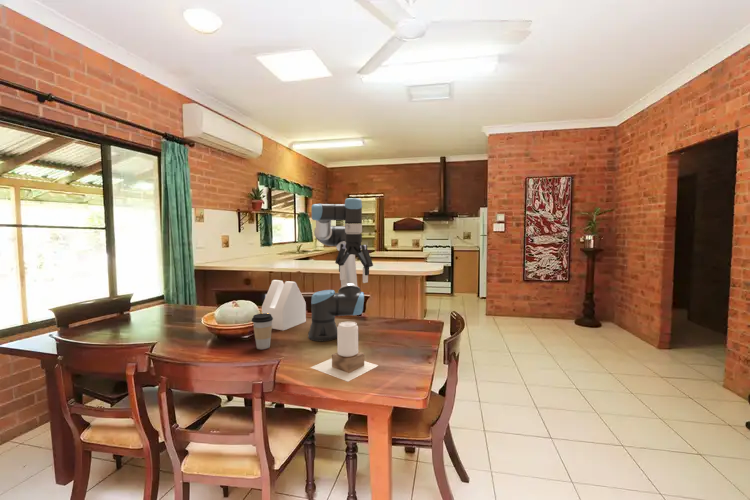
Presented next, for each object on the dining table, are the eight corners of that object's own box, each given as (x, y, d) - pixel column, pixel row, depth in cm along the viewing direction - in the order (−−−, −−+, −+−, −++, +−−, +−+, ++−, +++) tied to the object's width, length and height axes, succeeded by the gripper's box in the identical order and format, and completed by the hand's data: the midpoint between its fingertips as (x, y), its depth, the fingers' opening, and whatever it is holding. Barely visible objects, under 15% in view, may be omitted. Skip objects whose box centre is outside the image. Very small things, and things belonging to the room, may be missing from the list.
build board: (310, 370, 136) (310, 367, 136) (341, 356, 150) (341, 354, 150) (348, 384, 124) (348, 381, 124) (378, 368, 138) (378, 365, 138)
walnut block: (331, 367, 136) (331, 354, 136) (347, 360, 144) (347, 348, 143) (349, 373, 131) (348, 360, 131) (364, 365, 138) (364, 353, 138)
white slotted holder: (285, 318, 212) (285, 277, 210) (305, 321, 205) (305, 279, 203) (262, 326, 195) (261, 282, 193) (283, 330, 188) (282, 284, 186)
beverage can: (337, 350, 141) (337, 321, 140) (357, 349, 141) (357, 320, 140) (337, 358, 133) (336, 327, 132) (358, 357, 133) (358, 326, 132)
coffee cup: (277, 345, 165) (277, 313, 164) (265, 351, 156) (264, 319, 155) (260, 342, 168) (260, 312, 167) (247, 349, 159) (246, 317, 158)
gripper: (327, 233, 159) (327, 279, 160) (370, 234, 144) (370, 285, 145) (338, 232, 165) (339, 277, 166) (381, 233, 150) (380, 282, 151)
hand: (353, 281), depth 156 cm, fingers open, 13 cm apart
